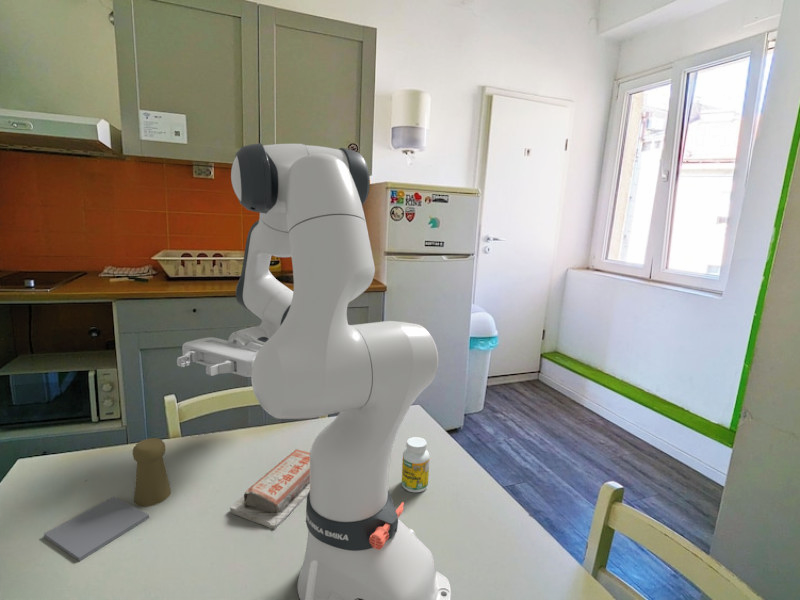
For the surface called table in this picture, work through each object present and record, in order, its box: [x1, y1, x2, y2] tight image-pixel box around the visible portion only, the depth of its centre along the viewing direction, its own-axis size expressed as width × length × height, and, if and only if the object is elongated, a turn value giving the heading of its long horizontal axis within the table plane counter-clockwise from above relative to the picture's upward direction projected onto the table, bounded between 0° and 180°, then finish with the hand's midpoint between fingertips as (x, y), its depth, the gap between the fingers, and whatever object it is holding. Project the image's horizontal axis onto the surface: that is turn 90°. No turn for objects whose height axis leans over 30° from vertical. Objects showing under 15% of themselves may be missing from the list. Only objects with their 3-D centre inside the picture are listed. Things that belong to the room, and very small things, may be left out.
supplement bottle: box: [401, 436, 431, 493], centre depth 87 cm, size 5×5×10 cm
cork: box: [132, 437, 172, 507], centre depth 80 cm, size 6×6×11 cm
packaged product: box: [229, 448, 310, 530], centre depth 83 cm, size 18×5×10 cm
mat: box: [43, 495, 150, 562], centre depth 72 cm, size 10×11×1 cm
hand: (193, 367), depth 85 cm, fingers open, 7 cm apart
